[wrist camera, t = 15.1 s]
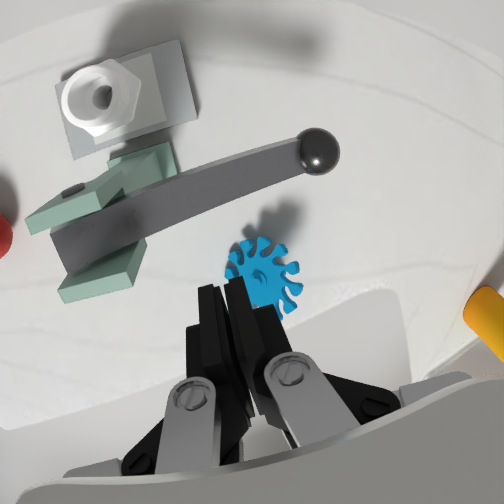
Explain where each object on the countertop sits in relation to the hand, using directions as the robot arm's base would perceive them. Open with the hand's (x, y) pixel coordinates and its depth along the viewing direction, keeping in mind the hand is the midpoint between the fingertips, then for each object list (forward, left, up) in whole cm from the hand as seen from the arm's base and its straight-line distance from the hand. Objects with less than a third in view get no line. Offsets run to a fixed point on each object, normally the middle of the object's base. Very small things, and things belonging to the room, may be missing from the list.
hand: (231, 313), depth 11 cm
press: (-7, +9, -24) cm, 27 cm away
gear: (+2, -12, -25) cm, 28 cm away
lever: (0, +3, -11) cm, 11 cm away
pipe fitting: (-7, +11, -23) cm, 26 cm away
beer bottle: (+45, -34, -24) cm, 62 cm away
